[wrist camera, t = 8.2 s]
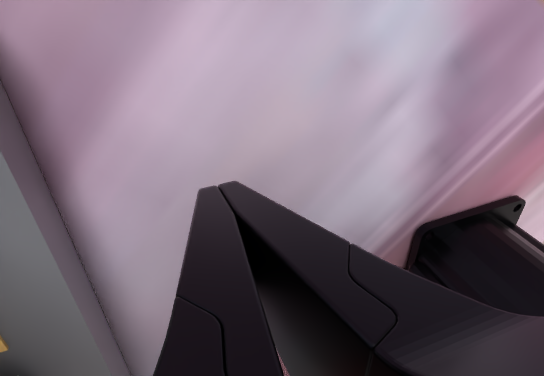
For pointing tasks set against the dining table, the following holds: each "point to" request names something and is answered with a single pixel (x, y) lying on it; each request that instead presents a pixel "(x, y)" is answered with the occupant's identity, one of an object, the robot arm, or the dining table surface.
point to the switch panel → (43, 277)
